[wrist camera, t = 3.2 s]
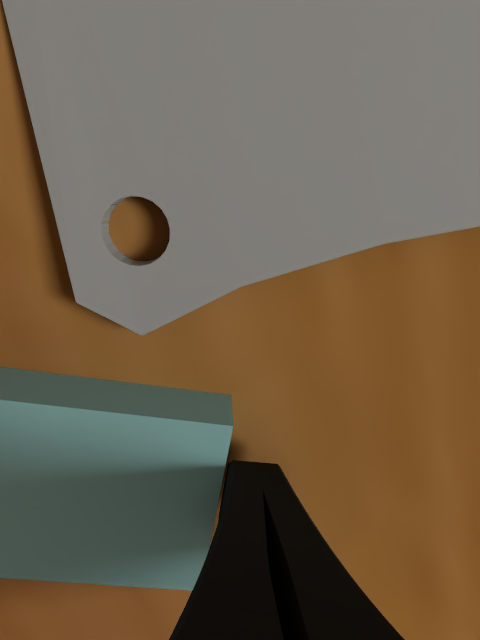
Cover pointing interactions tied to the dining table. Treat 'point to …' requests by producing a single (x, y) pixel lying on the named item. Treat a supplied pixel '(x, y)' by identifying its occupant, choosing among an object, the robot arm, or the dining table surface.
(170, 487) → the slat
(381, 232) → the kitchen cleaver
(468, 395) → the dining table surface
